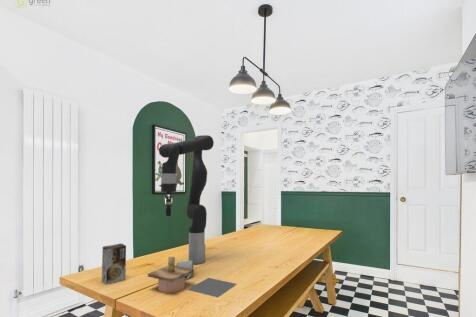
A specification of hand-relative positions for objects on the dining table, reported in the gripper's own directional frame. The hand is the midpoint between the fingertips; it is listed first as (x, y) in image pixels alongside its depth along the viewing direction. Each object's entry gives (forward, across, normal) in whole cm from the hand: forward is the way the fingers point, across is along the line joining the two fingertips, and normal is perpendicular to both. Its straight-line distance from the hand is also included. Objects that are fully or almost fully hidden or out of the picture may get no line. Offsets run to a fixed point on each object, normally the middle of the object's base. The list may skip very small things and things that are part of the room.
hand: (168, 214), depth 135 cm
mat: (+30, +20, +19) cm, 41 cm away
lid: (+24, +16, +1) cm, 29 cm away
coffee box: (+30, -2, -25) cm, 39 cm away
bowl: (+30, +16, +1) cm, 34 cm away
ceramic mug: (+30, +4, +8) cm, 32 cm away
